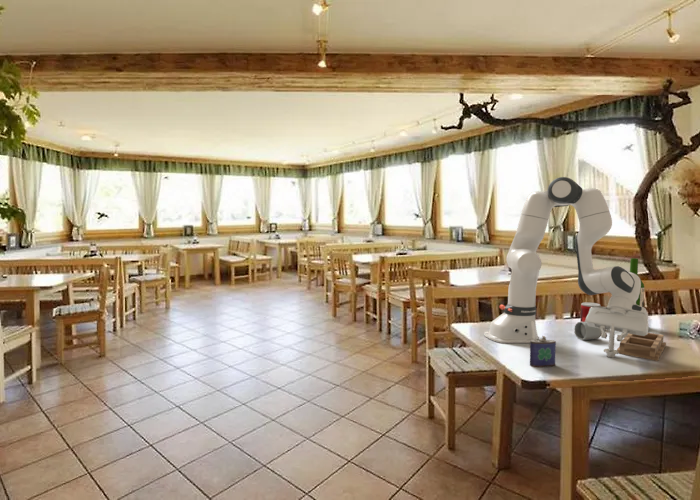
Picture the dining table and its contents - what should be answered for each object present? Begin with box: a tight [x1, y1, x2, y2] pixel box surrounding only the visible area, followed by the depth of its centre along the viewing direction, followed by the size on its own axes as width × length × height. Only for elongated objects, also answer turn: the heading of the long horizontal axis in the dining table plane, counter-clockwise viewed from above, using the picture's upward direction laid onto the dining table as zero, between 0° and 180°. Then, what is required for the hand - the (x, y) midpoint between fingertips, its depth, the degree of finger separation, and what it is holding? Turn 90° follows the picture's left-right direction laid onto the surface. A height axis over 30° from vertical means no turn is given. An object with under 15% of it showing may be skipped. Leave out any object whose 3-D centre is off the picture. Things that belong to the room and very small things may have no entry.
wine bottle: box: [629, 258, 645, 307], centre depth 196 cm, size 9×9×32 cm
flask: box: [529, 335, 557, 368], centre depth 146 cm, size 9×3×11 cm, turn 95°
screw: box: [603, 323, 620, 359], centre depth 155 cm, size 13×5×5 cm
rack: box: [616, 332, 667, 362], centre depth 164 cm, size 24×13×4 cm, turn 137°
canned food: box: [580, 301, 602, 322], centre depth 197 cm, size 8×8×11 cm
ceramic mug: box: [573, 321, 602, 341], centre depth 179 cm, size 11×8×8 cm
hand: (611, 339), depth 154 cm, fingers open, 4 cm apart
